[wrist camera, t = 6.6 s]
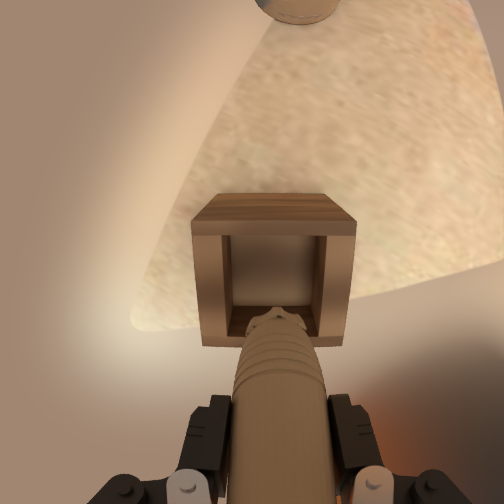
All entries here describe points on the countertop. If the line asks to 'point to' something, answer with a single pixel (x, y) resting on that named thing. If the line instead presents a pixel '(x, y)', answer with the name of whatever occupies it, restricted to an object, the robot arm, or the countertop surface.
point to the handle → (279, 418)
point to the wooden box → (272, 264)
